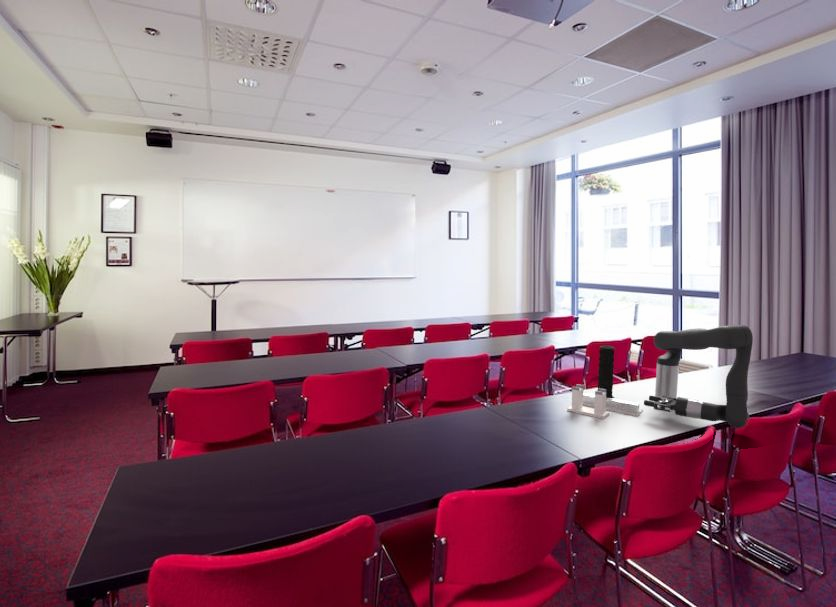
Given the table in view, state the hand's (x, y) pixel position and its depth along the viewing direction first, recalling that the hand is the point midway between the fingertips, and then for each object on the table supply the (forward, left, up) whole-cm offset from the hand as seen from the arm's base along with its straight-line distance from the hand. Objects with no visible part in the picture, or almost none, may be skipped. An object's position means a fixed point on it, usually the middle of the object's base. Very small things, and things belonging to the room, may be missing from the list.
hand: (646, 400), depth 198 cm
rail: (0, -15, -6) cm, 16 cm away
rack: (+14, -20, -7) cm, 26 cm away
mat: (0, -16, -7) cm, 18 cm away
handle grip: (-12, -21, -7) cm, 25 cm away
